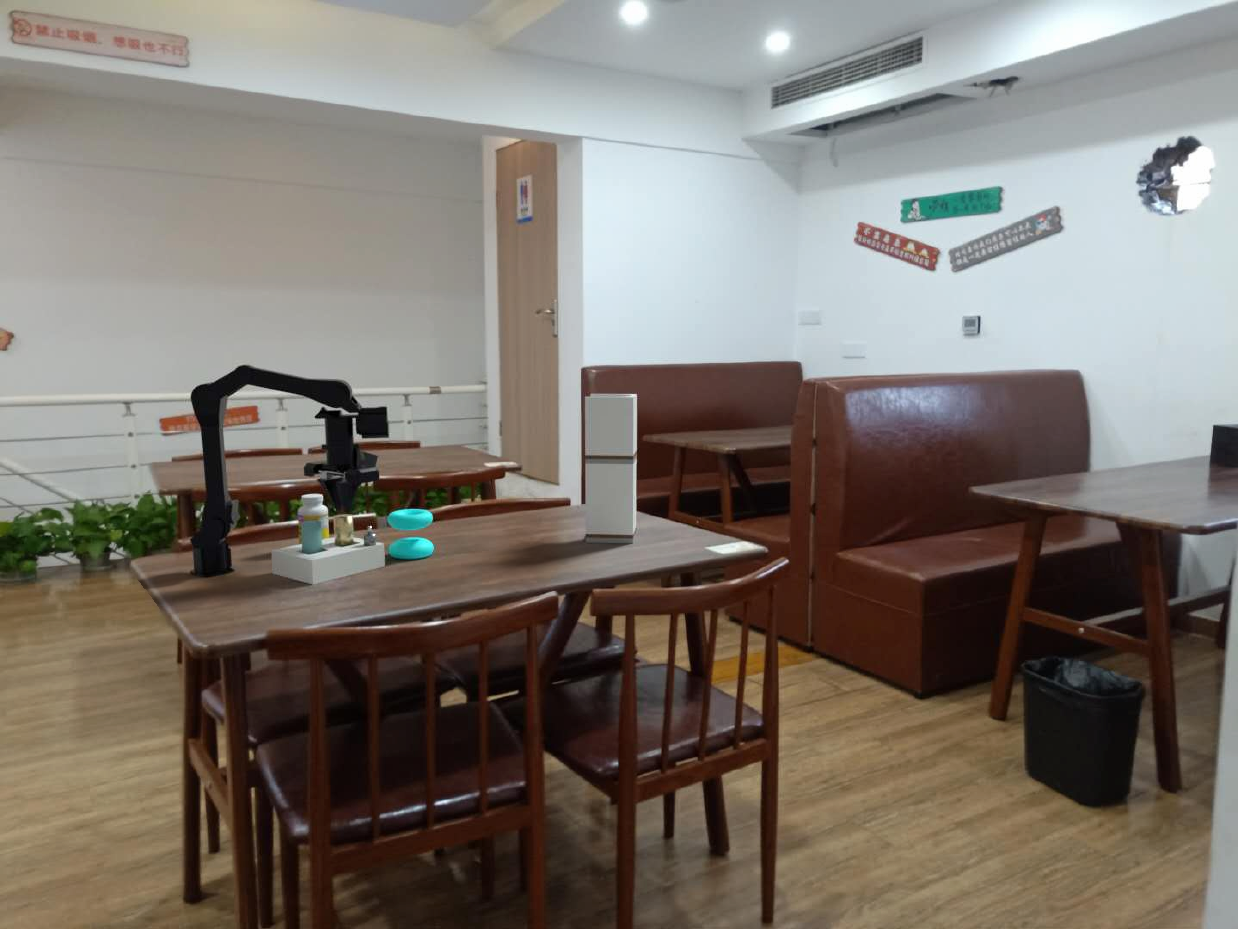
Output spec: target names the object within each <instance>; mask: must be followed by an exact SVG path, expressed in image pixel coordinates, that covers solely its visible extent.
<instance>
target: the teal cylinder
mask: <svg viewBox="0 0 1238 929" xmlns="http://www.w3.org/2000/svg"><path fill="white" fill-rule="evenodd" d="M301 538H302V553H304V554H308V555H310V554H314V553H319V552H322V531H321V521H317V520H311V521H304V522H301Z"/></svg>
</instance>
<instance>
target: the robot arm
mask: <svg viewBox="0 0 1238 929" xmlns="http://www.w3.org/2000/svg"><path fill="white" fill-rule="evenodd" d="M246 386H254V387H258V388H263V389H268V390H273V391H278V392H283V393H288V394H293V395H297V396H301V397H306V398H308V399H309V400H313V401H315V402H316V403H319V404H321V405H324V406H322V407H321V408H320V410H319V411H318V413H317V414H315V415H314V419H315V420H317V419H318V420H321V419H322V420H323V419H324V432H325V433H324V436H325V438H324V439H325V444H324V443H323V444H321V450H325V454H326V460H318V461H311V462H310V461H309V462H306V464H305V465H304V467H303V475H304V477H309V478H310V477H311V478H313V477H315V475H319V478H317V479H316V481H317V483H319V484H320V486H321V487H322V489H323V490H324V492H325V494H326V495H327V497H328V499H329V500H330V503H331V504H332V506H333V508H334V509H335V511H336V512H340V511H342V508H343V511H344V514H345V513H346V514H347V513H350V512H351V509H352V506H353V502H354V499H355V497H356V493H357V490H358V489H359V487H360V486H361V485H363V484H365V483H371V482H379V481H380V479H381V477H380V476H381V475H380V470H379V469H378V468H377V463H378V459H379V455H377V454H373V453H371V452H367V451H362V449H361V448H360V445H359V443H358V442H356V443H355V440H354V421H353V420H354V419H355V432H356V435H359V436H361V438H362V439H363V440H366V439H369V440H370V439H389V438H390V420H389V417H388V416H389V415H388V407H387V405H384V406H380V405H379V406H376V407H375V406H374V407H371V406H370V407H369V406H368V407H362V405H361V404H360V402H358V400H357V399H356V398H355V397H354V394H353V388H352V386H351V385H350V383H349V382H348V381H346V380H345V379H344V380H343V379H338V378H337V379H335V378H311V377H310V378H308V377H303V376H299V375H293V374H290V373H289V374H288V373H284V372H279V371H275V370H274V371H273V370H269V369H265V368H260V367H257V366H256V367H255V366H253V365H251V364H242V365H238V366H237V367H235V369H234V370H232V371H231V372H228V374H227V373H226V374H225V375H223V376H221V377H220V378H218V379H217V380H214V381H211V382H206V383H201V384H199V385H197V386H195V387H194V388H193V389H192V391H191V393H190V402H191V405H192V410H193V414H194V417H195V419H196V421H197V423H198V424H199V428H200V432H201V433H200V436H201V437H200V438H201V447H202V461H203V473H204V475H203V476H204V484H205V485H204V486H205V499H204V503H203V508H202V513H201V522H200V523H201V524H200V529H199V530H198V531H197V532H196V533H195V534H194V535H193V536H192V537H191V538H190V539H189V542H190V543H191V546H192V557H193V560H192V561H193V569H192V570H191V569H190V570H189V572H190V573H191V574H194V575H196V576H200V577H203V578H210V577H214V576H218V575H222V574H228V573H232V572H235V568H233V567H232V566H233V563H232V560H233V559H232V548H230V547H229V545H230V543H229V541H225V540H227V539H228V535H229V534H230V533H231V532H232V531H233V530H234V529H235V528H236V526H237V523H238V521H239V520H240V518H241V516H240V513H239V499H233V500H232V498H231V496H230V493H229V488H228V476H227V474H228V473H227V464H226V461H227V460H226V451H225V436H224V424H225V417H226V413H227V410H228V409H227V407H228V398H230V397H231V396H233V395H235V393H237V392H239V391H240V390H241V389H243V388H244V387H246ZM325 406H327V407H330V408H332V409H333V410H332V409H331V410H329V409H327V408H326V407H325ZM340 409H342V410H343V411H345V412H347V413H349V414H347V413H346V414H343V412H342V410H340Z"/></svg>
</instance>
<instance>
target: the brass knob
mask: <svg viewBox="0 0 1238 929" xmlns="http://www.w3.org/2000/svg"><path fill="white" fill-rule="evenodd" d="M332 518H333V533H334V534H333V537H334V541H335V546H338V547H345V546H350V545H354V537H355V536H354V531H355V530H354V515H353V514H347V513H346V514H345V513H343V514H336V515H335V514H334V516H333V517H332Z"/></svg>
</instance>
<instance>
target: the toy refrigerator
mask: <svg viewBox="0 0 1238 929" xmlns="http://www.w3.org/2000/svg"><path fill="white" fill-rule="evenodd" d="M637 405H638V394H637V393H590V395H589V396H584V423H585V424H584V426H585V427H584V438H585V439H584V443H585V444H584V446H585V449H584V453H585V454H584V456H585V458H584V459H585V462H584V463H585V465H584V466H585V472H584V473H585V474H584V476H585V478H584V479H585V486H584V487H585V543H595V544H596V543H597V544H598V543H601V544H602V543H603V544H634V542H635V538H636V536H637V530H638V528H637V463H638V460H637V458H638V454H637V453H638V451H637V450H638V444H637V443H638V406H637Z"/></svg>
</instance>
